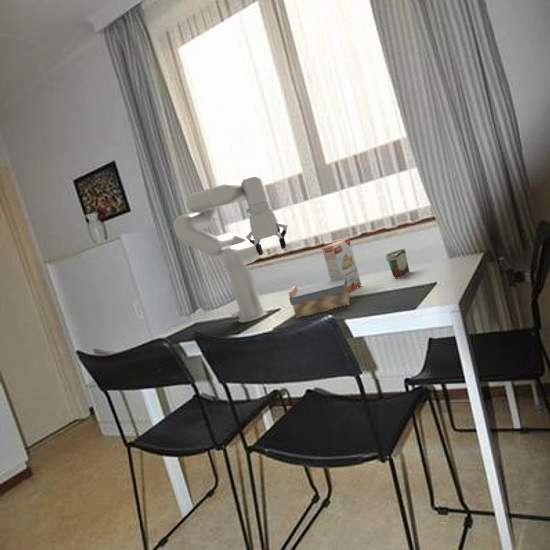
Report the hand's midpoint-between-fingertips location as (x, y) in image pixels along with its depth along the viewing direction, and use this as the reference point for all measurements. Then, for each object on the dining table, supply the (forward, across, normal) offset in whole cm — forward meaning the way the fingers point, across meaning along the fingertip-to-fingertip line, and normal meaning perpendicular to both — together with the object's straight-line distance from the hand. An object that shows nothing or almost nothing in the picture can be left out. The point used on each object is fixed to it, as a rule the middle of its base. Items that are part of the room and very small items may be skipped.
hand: (272, 251), depth 180 cm
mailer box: (+26, +14, -1) cm, 29 cm away
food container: (+26, +40, +28) cm, 55 cm away
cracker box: (+26, +20, +19) cm, 38 cm away
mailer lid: (+20, +14, -1) cm, 25 cm away
